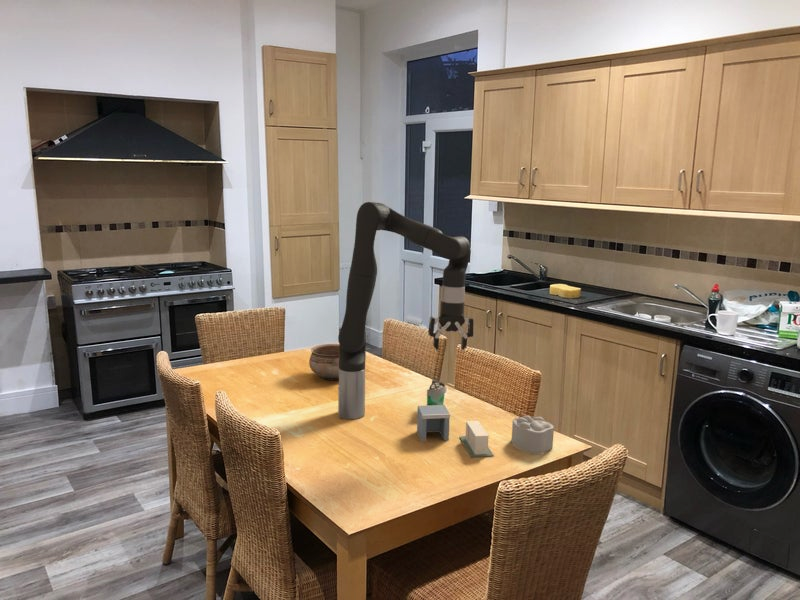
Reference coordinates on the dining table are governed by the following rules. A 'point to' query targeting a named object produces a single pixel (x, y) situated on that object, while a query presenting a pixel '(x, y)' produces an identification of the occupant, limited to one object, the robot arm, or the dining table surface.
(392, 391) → the dining table surface
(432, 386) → the food container
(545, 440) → the lumpy-topped squat cylinder
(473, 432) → the tall cream rectangular prism
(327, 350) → the cooking pot
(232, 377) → the dining table surface
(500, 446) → the dining table surface
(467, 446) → the rubber mat
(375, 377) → the dining table surface
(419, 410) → the dispenser sleeve
